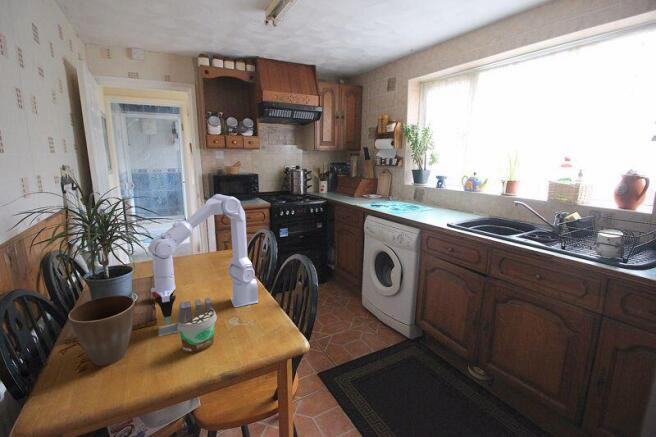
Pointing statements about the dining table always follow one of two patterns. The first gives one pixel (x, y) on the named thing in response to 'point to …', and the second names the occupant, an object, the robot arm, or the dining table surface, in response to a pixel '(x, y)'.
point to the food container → (198, 332)
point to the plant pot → (104, 327)
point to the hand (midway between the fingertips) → (167, 312)
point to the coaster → (168, 329)
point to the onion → (154, 294)
